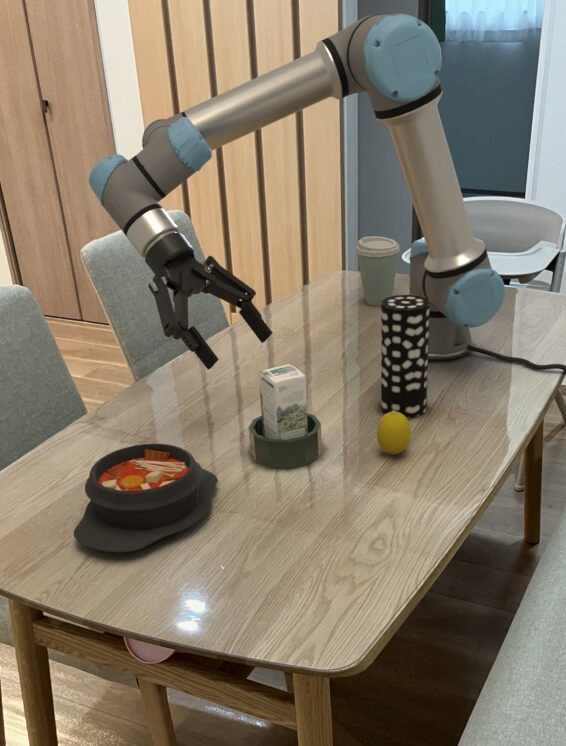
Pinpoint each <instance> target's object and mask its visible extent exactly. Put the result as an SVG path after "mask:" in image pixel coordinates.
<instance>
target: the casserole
mask: <svg viewBox="0 0 566 746" xmlns="http://www.w3.org/2000/svg"><path fill="white" fill-rule="evenodd" d="M218 482H219V480H218V477H217V475H216V474H214V473H213V472H211V471H209V470H208V469H205V468H203V467H202V466H201V465H200V463H199V462H197V460H195V458H194V456H193V455H192V454H191V452H189V451H188V450H187V449H184V448H183V447H180V446H177V445H173V444H169V443H168V444H167V443H142V444H134V445H130V446H127V447H123V448H120V449H116V450H114V451H112V452H110V453H108V454H105V455H104V456H103V457H101V458H99V459H98V460H97V461H95V462H94V464H93V465H92V467H91V468H90V471H89V475H88V478H87V479H86V482H85V484H84V493H85V494H86V497H87V498H88V499H89V502H88V503H87V505H86V507H85V510H84V513H83V516H82V518H81V519H80V521H79V523H77V525H76V527H75V528H74V530H73V537H74V539H76V540H77V542H78V543H80V544H82V545H84V546H85V547H87V548H90V549H93V550H96V551H102V552H108V553H109V552H110V553H128V552H129V553H130V552H135V551H138V550H141V549H144V548H146V547H148V546H150V545H152V544H153V543H155V542H157V541H159V540H161V539H162V538H165V537H168V536H171V535H173V534H176V533H178V532H181V531H184V530H185V529H187V528H189V527H191V526H193V525H195V524H196V523H197V522H199V521H200V520H201V519H203V518H204V517H205V515H206V514H207V513H208V512H209V511H210V508H211V506H212V502H213V495H214V491H215V488H216V486H217V484H218Z"/></svg>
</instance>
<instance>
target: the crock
mask: <svg viewBox="0 0 566 746" xmlns="http://www.w3.org/2000/svg"><path fill="white" fill-rule="evenodd" d="M307 427H308V434H306V435H304V436H303V437H298V438H293V439H288V440H283V439H269V438H266V437H264V436H263V427H262V415H260V416H257V417H255V418H253V419H252V421H251V423H250V425H249V426H248V437H249V447H250V455H251V457H252V459H253V460H254V462H255V463H256V464H259V465H261V466H264V467H265V468H269V469H279V470H291V469H296V468H300V467H306V466H308V465H310V464H311V463H314V462H315V461H316V460H318V459H319V458H320V456H321V453H322V451H323V441H322V439H323V437H322V423H321V421H320V420H319V419H318V418H317V416H316V415H314V414H312V413H309V412H307Z"/></svg>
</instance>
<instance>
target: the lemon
mask: <svg viewBox="0 0 566 746" xmlns="http://www.w3.org/2000/svg"><path fill="white" fill-rule="evenodd" d="M408 419H409V418H406V417H405V416H404V415H403V414H401V413H399V412H396V411H392V412H389V413H387V414H384V415H383V416H381V418H380V419H379V422H378V424H377V429H376V439H377V443H378V445H379V446H380V448H381V449H382V450H383V451H384V452H386V453H388V454H390V455H392V456H395V455H397V454H398V453H401V452H404V450H406V448H407V447H408V446H409V444H410V441H411V434H412V430H411V425H410V422H409V420H408Z"/></svg>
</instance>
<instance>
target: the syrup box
mask: <svg viewBox="0 0 566 746" xmlns="http://www.w3.org/2000/svg"><path fill="white" fill-rule="evenodd" d="M258 385H259V386H258V387H259V398H260V412H261V416H262V427H263V436H264V437H266V438H269V439H283V440H288V439H293V438H298V437H303V436H304V435H306V434H308V427H307V413H308V407H307V406H308V404H307V403H308V402H307V398H308V397H307V377H306V375H305V374H304V373H303V372H302V371H301V370H299V369H298V368H296V367H295V366H294V365H292V364H289V363H287V364H283V365H279V366H275V367H271V368H268V369H262V370H259V371H258Z"/></svg>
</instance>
